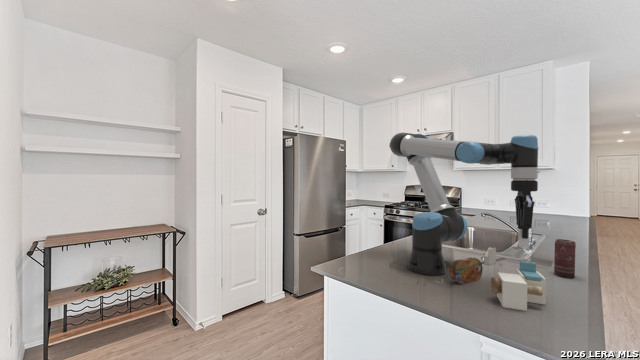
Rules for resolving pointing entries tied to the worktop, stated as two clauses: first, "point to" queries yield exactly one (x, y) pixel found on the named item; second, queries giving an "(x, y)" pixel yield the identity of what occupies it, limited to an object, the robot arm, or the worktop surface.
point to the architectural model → (490, 256)
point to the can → (564, 258)
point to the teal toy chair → (529, 270)
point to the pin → (532, 290)
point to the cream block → (512, 291)
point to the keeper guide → (535, 283)
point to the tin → (466, 270)
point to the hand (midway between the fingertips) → (523, 247)
